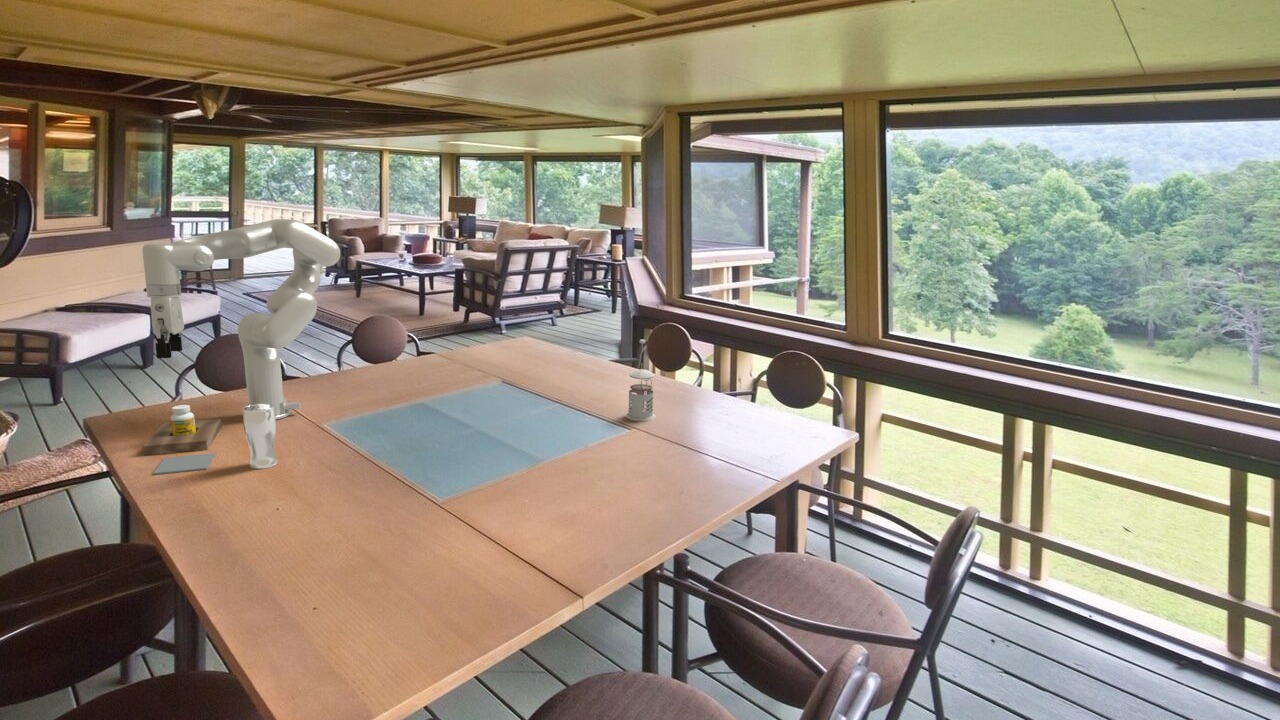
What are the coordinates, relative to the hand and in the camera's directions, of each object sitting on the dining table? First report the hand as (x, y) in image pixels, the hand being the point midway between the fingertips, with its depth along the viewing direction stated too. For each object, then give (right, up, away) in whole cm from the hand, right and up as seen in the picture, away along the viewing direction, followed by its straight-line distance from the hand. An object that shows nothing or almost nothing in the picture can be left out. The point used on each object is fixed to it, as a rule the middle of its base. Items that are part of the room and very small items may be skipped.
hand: (170, 354), depth 186 cm
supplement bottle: (+2, -24, +3) cm, 24 cm away
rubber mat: (+13, -27, -14) cm, 33 cm away
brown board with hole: (+2, -23, +3) cm, 24 cm away
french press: (+127, -20, +35) cm, 133 cm away
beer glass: (+32, -28, -13) cm, 44 cm away
